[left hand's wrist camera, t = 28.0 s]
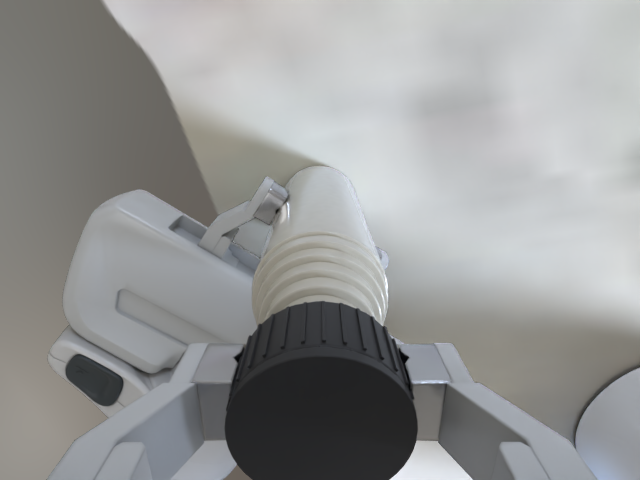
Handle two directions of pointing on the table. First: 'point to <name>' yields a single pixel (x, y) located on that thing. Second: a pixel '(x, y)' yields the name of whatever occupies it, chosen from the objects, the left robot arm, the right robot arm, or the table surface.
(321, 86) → the table surface
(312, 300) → the bottle
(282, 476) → the cap
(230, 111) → the table surface
